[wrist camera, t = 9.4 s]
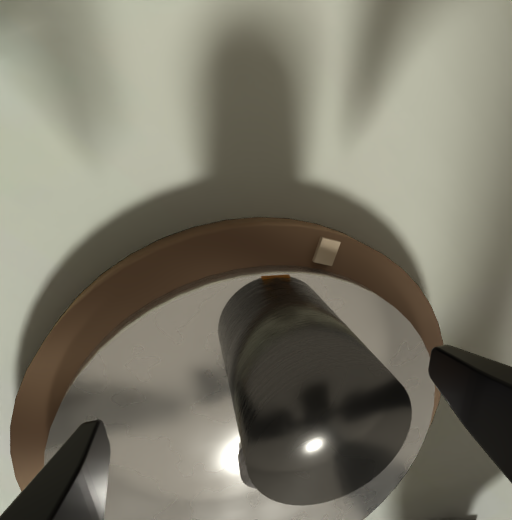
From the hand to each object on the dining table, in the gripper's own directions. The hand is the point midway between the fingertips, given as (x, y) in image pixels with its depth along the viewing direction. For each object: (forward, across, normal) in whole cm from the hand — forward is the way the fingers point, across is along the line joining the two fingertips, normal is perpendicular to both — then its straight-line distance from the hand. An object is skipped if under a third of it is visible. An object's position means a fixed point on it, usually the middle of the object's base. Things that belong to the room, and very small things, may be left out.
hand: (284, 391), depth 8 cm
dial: (+4, 0, +7) cm, 8 cm away
